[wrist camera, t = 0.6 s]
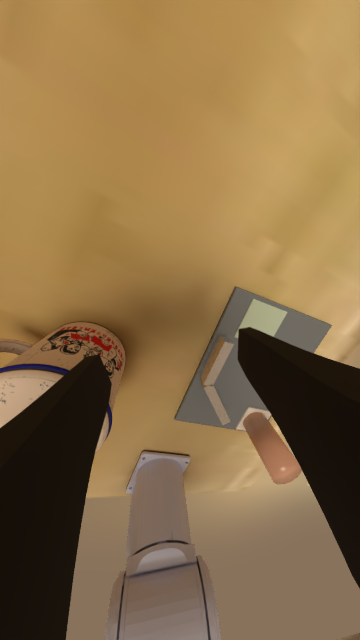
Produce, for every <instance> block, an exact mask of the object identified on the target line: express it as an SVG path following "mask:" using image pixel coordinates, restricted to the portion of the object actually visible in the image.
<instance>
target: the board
mask: <svg viewBox="0 0 360 640" xmlns="http://www.w3.org/2000/svg"><path fill="white" fill-rule="evenodd" d="M331 326H332V325H330V324H327V323H325V322H322V321H320V320H317V319H315V318H312V317H310V316H308V315H305V314H303V313H300V312H298V311H295V310H293V309H290V308H288V307H285V306H283V305H280V304H278V303H275V302H273V301H270V300H268V299H265V298H263V297H260V296H258V295H255V294H253V293H250V292H248V291H245V290H243V289H240V288H238V287H235V288H234V291H233V293H232V295H231V297H230V299H229V301H228V304H227V306H226V308H225V310H224V312H223V314H222V316H221V319H220V321H219V323H218V325H217V327H216V329H215V332H214V334H213V336H212V338H211V340H210V342H209V344H208V347H207V349H206V351H205V353H204V355H203V357H202V360H201V362H200V364H199V366H198V368H197V370H196V372H195V375H194V377H193V379H192V381H191V383H190V385H189V388H188V390H187V392H186V394H185V396H184V398H183V400H182V403H181V405H180V407H179V409H178V411H177V413H176V416H175V420H179V421H185V422H191V423H197V424H203V425H209V426H216V427H222V428H228V429H234V430H240V431H246V429H245V428H244V426H243V421H244V419H245V417H246V416H248V415H249V414H251V413H253V412H261V413H263V414H264V415H265V416H266V418H267V419H268V421H269V419H270V418H271V416H272V415H271V414H270V412H269V411H268V409H267V408H266V406H265V405H264V403H263V402H262V400H261V399H260V397H259V396H258V394H257V393H256V391H255V390H254V388H253V387H252V385H251V384H250V382H249V381H248V379H247V377H246V376H245V374H244V372H243V370H242V368H241V366H240V364H239V362H238V360H237V359H238V331H239V329H241V328H247V327H251V328H254V329H257V330H259V331H261V332H264V333H266V334H268V335H271V336H273V337H275V338H277V339H280V340H282V341H284V342H287V343H289V344H291V345H294V346H296V347H298V348H301V349H303V350H306V351H309V352H311V353H314V352H315V350H316V349H317V347H318V346H319V344H320V343H321V341H322V340H323V338H324V337H325V335H326V334H327V332H328V331H329V329H330V328H331ZM218 334H220V335H223V336H226V337H228V338H229V339H230V341H231V342H232V343H233V344H234V346H233V347H232V349H231V351H230V353H229V355H228V357H227V359H226V361H225V363H224V365H223V367H222V369H221V371H220V373H219V375H218V377H217V379H216V381H215V383H214V387H215V389H216V392H217V394H218V396H219V398H220V400H221V402H222V404H223V406H224V408H225V411H226V413H227V415H228V417H229V419H230V421H231V422H229V423H227V424H225V425H222V423H221V421H220V419H219V417H218V415H217V413H216V411H215V409H214V408H213V406H212V404H211V402H210V400H209V398H208V396H207V394H206V392H205V390H204V388H203V385H202V383H201V380H200V372H201V370H202V368H203V365H204V363H205V361H206V359H207V357H208V355H209V353H210V351H211V349H212V346H213V344H214V342H215V340H216V338H217V336H218ZM246 432H247V431H246Z"/></svg>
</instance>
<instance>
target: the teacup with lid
mask: <svg viewBox="0 0 360 640" xmlns="http://www.w3.org/2000/svg"><path fill="white" fill-rule="evenodd" d="M0 352H9V353H14V354H18V355H19V356H18V357H17V358H15V359H14V360H12V361H11V362H10V363H8V364H7V365H5V366H4V367H3V368H0V428H1V427H2V426H4V425H5V424H6V423H7V422H9V421H10V420H11V419H13V418H14V417H15V416H17V415H18V414H19V413H20V412H22V411H23V410H24V409H25V408H26V407H28V406H29V405H30V404H31V403H33V402H34V401H35V400H36V399H37V398H39V397H40V396H41V395H42V394H43V393H45V392H46V391H47V390H48V389H49V388H50V387H52V386H53V385H54V384H55V383H56V382H57V381H58V380H60V379H61V378H62V377H63V376H64V375H65V374H66V373H68V372H69V371H70V370H71V369H72V368H73V367H74V366H75V365H77V364H78V363H79V362H80V361H81V360H83V359H84V358H85V357H87V356H92V355H97V354H99V355H100V357H101V359H102V362H103V364H104V366H105V369H106V371H107V374H108V376H109V378H110V381H111V383H112V386H111V394H110V400H109V405H108V409H107V413H106V416H105V420H104V423H103V427H102V430H101V434H100V437H99V441H98V444H97V448H96V451H95V453H96V452H97V451H98V449H99V448H100V447H101V446H102V444H103V443H104V441H105V440H106V438H107V437H108V434H109V432H110V429H111V425H112V410H113V406H114V403H115V399H116V396H117V392H118V388H119V385H120V381H121V378H122V374H123V370H124V367H125V361H126V356H125V351H124V348H123V346H122V344H121V342H120V341H119V339H118V338H117V337H116V336H115V335H114V334H113V333H112V332H110V331H109V330H107V329H106V328H104V327H102V326H99V325H96V324H93V323H86V322H75V323H70V324H66V325H63V326H61V327H59V328H57V329H56V330H54V331H53V332H51V333H50V334H49V335H47V336H46V337H44V338H43V339H42V340H40V341H39V342H37V343H36V344H35V345H31V344H28V343H26V342H22V341H18V340H13V339H0Z"/></svg>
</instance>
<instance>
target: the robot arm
mask: <svg viewBox="0 0 360 640" xmlns="http://www.w3.org/2000/svg"><path fill="white" fill-rule="evenodd" d="M237 360H238V362H239V364H240V366H241V368H242V370H243V372H244V374H245V376H246V377H247V379H248V381H249V382H250V384H251V385H252V387H253V388H254V390H255V391H256V393H257V394H258V396H259V397H260V399H261V400H262V402H263V403H264V405H265V406H266V408H267V409H268V411H269V412H270V414H271V415H272V417H273V418H274V420H275V421H276V423H277V425H278V426H279V428H280V430H281V432H282V434H283V435H284V437H285V439H286V441H287V443H288V444H289V446H290V448H291V450H292V452H293V454H294V455H295V458H296V459H297V461H298V463H299V465H300V467H301V469H302V471H303V473H304V475H305V476H306V479H307V481H308V483H309V485H310V487H311V489H312V491H313V493H314V495H315V497H316V499H317V501H318V503H319V505H320V507H321V509H322V511H323V513H324V515H325V517H326V519H327V522H328V524H329V526H330V528H331V530H332V532H333V534H334V537H335V539H336V541H337V543H338V545H339V547H340V549H341V551H342V554H343V556H344V558H345V560H346V563H347V565H348V567H349V569H350V572H351V574H352V576H353V577H354V579H355V581H356V583H357V584H358V586H359V588H360V369H359V368H355V367H352V366H349V365H346V364H343V363H340V362H337V361H333V360H330V359H328V358H325V357H322V356H319V355H317V354H314V353H311V352H309V351H306V350H303V349H301V348H298V347H296V346H294V345H291V344H289V343H287V342H284V341H282V340H280V339H277V338H275V337H273V336H271V335H268V334H266V333H264V332H261V331H259V330H257V329H254V328H251V327H247V328H241V329H239V331H238V359H237ZM111 386H112V383H111V381H110V378H109V376H108V374H107V371H106V369H105V366H104V364H103V362H102V359H101V357H100V355H99V354H97V355H92V356H87V357H85V358H84V359H83V360H81V361H80V362H79V363H78V364H77V365H75V366H74V367H73V368H72V369H71V370H70V371H69V372H68V373H66V374H65V375H64V376H63V377H62V378H61V379H60V380H58V381H57V382H56V383H55V384H54V385H53V386H52V387H50V388H49V389H48V390H47V391H46V392H45V393H43V394H42V395H41V396H40V397H39V398H37V399H36V400H35V401H34V402H33V403H31V404H30V405H29V406H28V407H26V408H25V409H24V410H23V411H22V412H20V413H19V414H18V415H17V416H15V417H14V418H13V419H11V420H10V421H9V422H7V423H6V424H5V425H4V426H2V427H1V428H0V640H66V631H67V624H68V615H69V607H70V599H71V591H72V583H73V574H74V568H75V562H76V555H77V547H78V541H79V534H80V528H81V522H82V516H83V510H84V505H85V499H86V493H87V488H88V483H89V478H90V472H91V467H92V463H93V459H94V455H95V451H96V448H97V444H98V441H99V437H100V434H101V430H102V427H103V423H104V420H105V416H106V413H107V409H108V405H109V400H110V394H111ZM189 462H190V457H189V456H183V455H174V454H165V453H156V452H147V451H144V452H142V453H141V456H140V458H139V460H138V463H137V465H136V467H135V470H134V472H133V474H132V477H131V479H130V481H129V484H128V486H127V488H126V493H127V494H132V495H131V505H130V516H129V526H128V536H127V564H126V571H121V572H120V573H119V575H118V577H117V579H116V581H115V582H114V585H113V588H112V593H111V598H110V604H109V610H108V617H107V625H106V633H105V640H221V634H220V626H219V618H218V611H217V605H216V599H215V594H214V588H213V584H212V579H211V575H210V572H209V569H208V566H207V564H206V563H205V561H204V560H203V558H202V556H201V555H198V556H196V551H195V545H194V544H191V537H190V529H189V522H188V514H187V506H186V498H185V491H184V483H183V473H184V471H185V469H186V468H187V466H188V464H189ZM338 640H360V633H358V634H354V635H351V636H348V637H345V638H341V639H338Z"/></svg>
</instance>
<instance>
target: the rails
mask: <svg viewBox="0 0 360 640" xmlns="http://www.w3.org/2000/svg"><path fill="white" fill-rule="evenodd" d="M233 346H234V344H233V343H232V342H231V341H230V339H229V338H228V337H226V336H223V335H220V334H218V336H217V338H216V340H215V342H214V344H213V346H212V349H211V351H210V353H209V355H208V357H207V359H206V361H205V363H204V365H203V368H202V370H201V372H200V380H201V383H202V385H203V388H204V390H205V392H206V394H207V396H208V398H209V400H210V402H211V404H212V406H213V408H214V409H215V411H216V413H217V415H218V417H219V419H220V421H221V423H222V425H225V424H227V423H229V422H231V421H230V419H229V417H228V415H227V413H226V411H225V408H224V406H223V404H222V402H221V400H220V398H219V396H218V394H217V392H216V389H215V387H214V383H215V381H216V379H217V377H218V375H219V373H220V371H221V369H222V367H223V365H224V363H225V361H226V359H227V357H228V355H229V353H230V351H231V349H232V347H233Z"/></svg>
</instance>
